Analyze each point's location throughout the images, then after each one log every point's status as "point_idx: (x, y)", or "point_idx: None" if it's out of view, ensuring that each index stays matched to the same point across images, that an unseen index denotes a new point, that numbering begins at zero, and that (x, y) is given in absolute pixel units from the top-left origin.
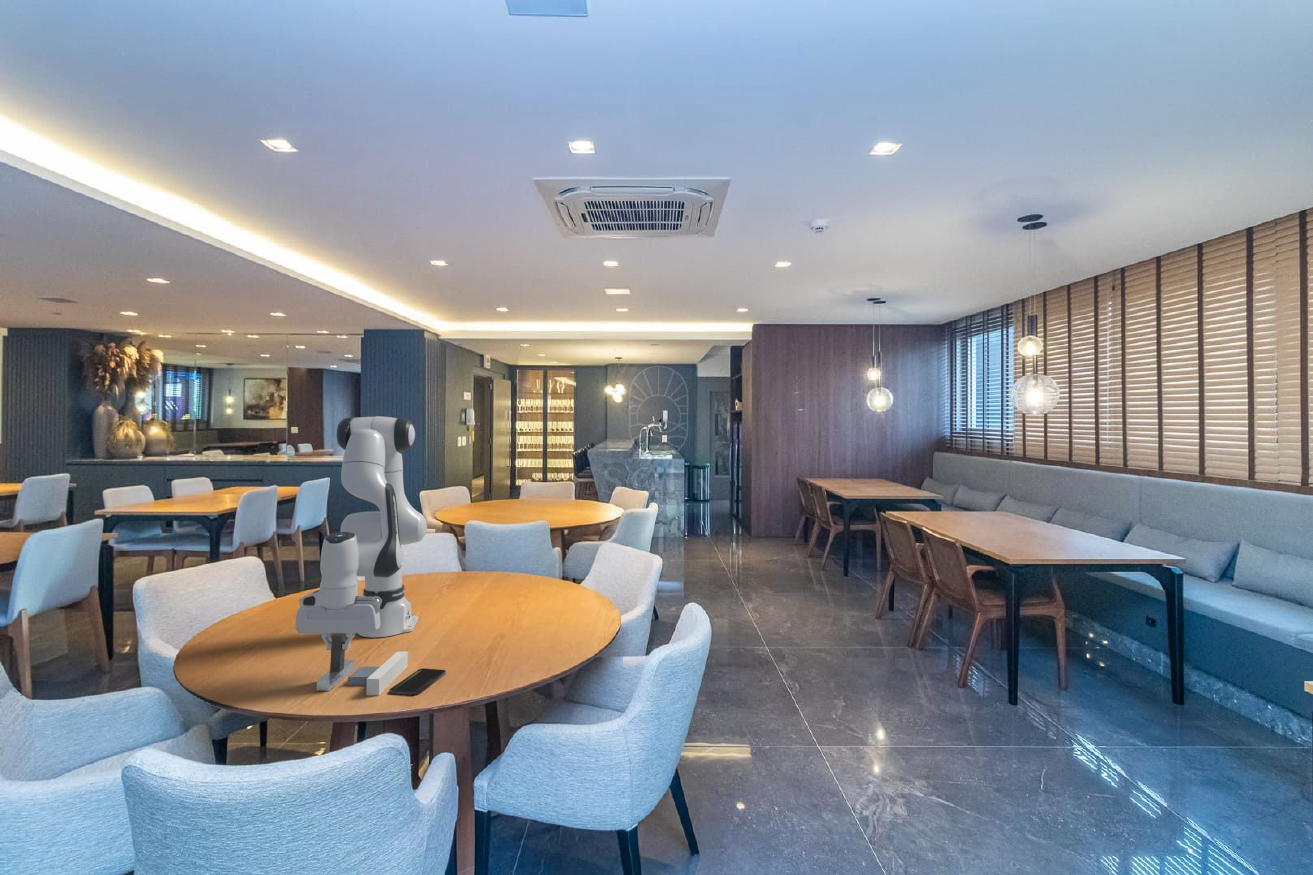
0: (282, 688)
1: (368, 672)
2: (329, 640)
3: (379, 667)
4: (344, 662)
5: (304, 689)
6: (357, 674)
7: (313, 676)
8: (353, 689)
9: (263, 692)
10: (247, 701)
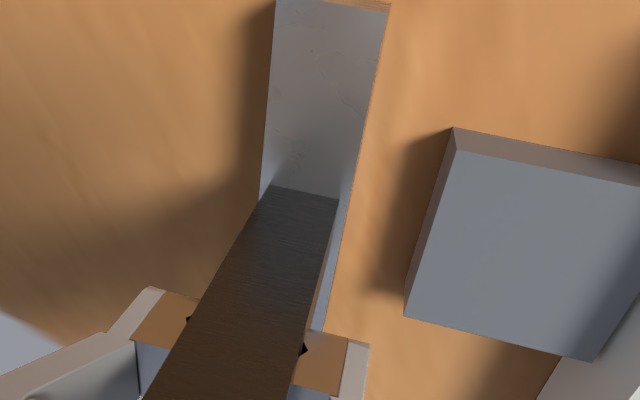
0: (83, 231)
1: (534, 280)
2: (110, 381)
3: (637, 389)
4: (307, 77)
5: (195, 271)
6: (457, 292)
7: (146, 92)
8: (447, 339)
9: (31, 254)
10: (36, 322)
